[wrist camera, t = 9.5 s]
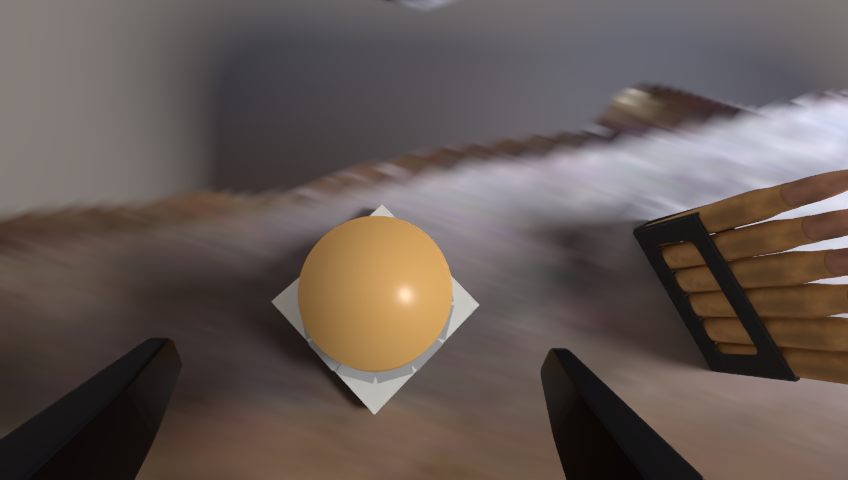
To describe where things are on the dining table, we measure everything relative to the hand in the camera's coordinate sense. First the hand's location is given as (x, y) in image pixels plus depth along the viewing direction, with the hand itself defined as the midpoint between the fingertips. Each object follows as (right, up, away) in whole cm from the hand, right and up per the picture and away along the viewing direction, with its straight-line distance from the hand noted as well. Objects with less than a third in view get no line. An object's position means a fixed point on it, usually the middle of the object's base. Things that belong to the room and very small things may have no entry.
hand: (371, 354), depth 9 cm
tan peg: (-1, -1, +12) cm, 12 cm away
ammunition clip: (+19, -1, +16) cm, 25 cm away
